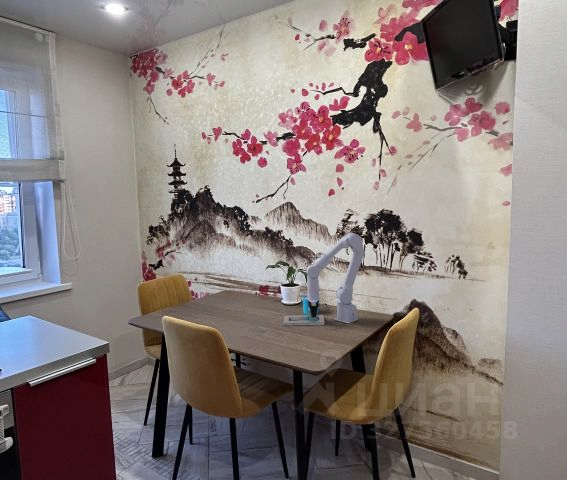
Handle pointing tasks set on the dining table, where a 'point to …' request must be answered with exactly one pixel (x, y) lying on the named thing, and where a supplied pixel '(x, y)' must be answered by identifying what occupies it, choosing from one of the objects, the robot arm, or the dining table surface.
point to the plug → (311, 316)
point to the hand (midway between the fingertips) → (313, 315)
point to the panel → (303, 320)
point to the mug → (306, 305)
